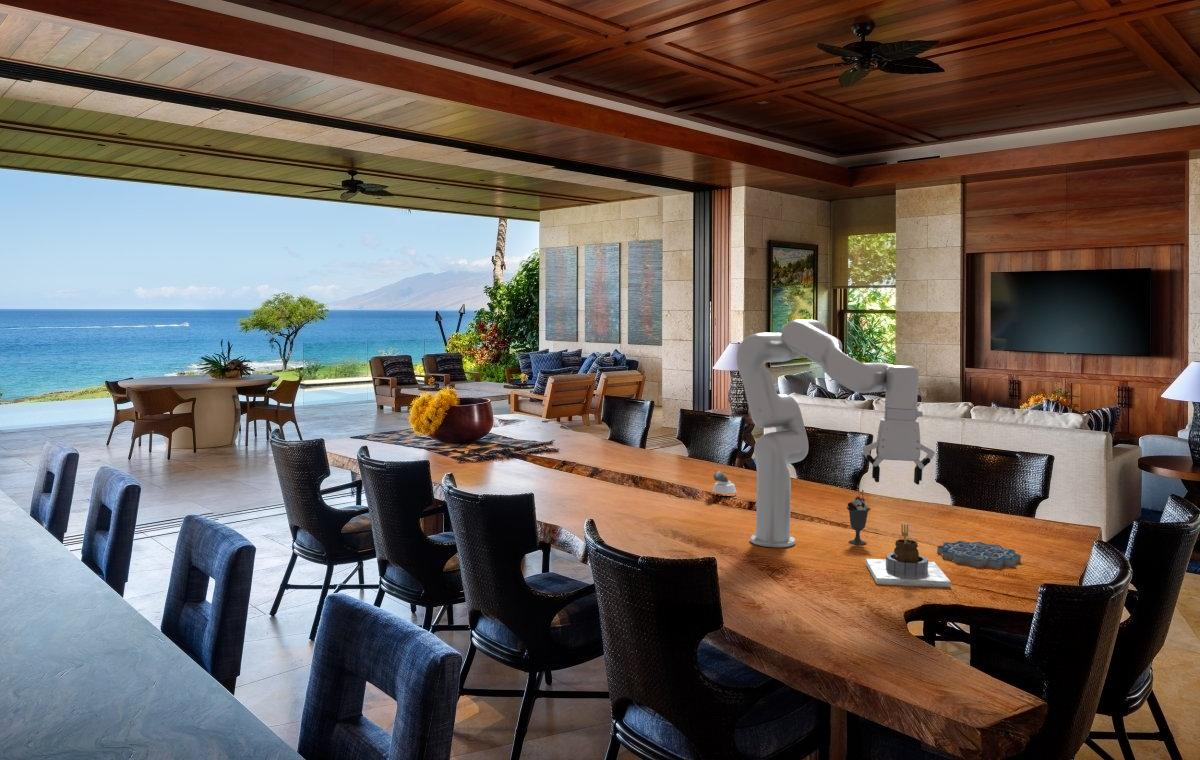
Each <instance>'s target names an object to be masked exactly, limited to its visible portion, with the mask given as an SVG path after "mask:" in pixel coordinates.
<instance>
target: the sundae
mask: <svg viewBox="0 0 1200 760" xmlns="http://www.w3.org/2000/svg"><path fill="white" fill-rule="evenodd" d="M861 495H862V497H860V496H861ZM865 501H866V499H865V497H864V490H861V493H860V494H858V495H857V496H856V497H855V498H853V499H852V500H851V502H848V503H847V506H846V509H847V510H848V514H849V521H850V522H849V524H850V527H851V528H852V530H854V531H855V537H854V539H851V540H848V543H849V544H850V545H855V546H865V545H867V542H866V541H863V540H862V539H861V531H863V530H864V529H865V527H866V525H867V524H866V523H867V520H868V513H869V512H870V511H871V508H870V507H868V506H869V505H868V504H867V502H865Z"/></svg>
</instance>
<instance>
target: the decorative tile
mask: <svg viewBox="0 0 1200 760" xmlns="http://www.w3.org/2000/svg"><path fill="white" fill-rule="evenodd" d="M936 549H937V551H936V553H937V554H938V553H939V554H938V555H941V554H943V555H941V556H942V559H943V558H946V559H945V560H948V559H951V560H950V561H952V560H953V562H954V563H955V564H956V563H960V564H959V565H966V564H968V566H971V567H973V568H991V569H998V570H1000V569H1001V568H1003V567H1006V568H1016V564H1021V563H1022V562H1021V561H1022V555H1021V554H1018V553H1016V550H1015V549H1011V548H1005V547H1002V546H1001V545H1000V544H990V543H989V544H988V543H984V542H982V541H975V542H973V541H972V542H971V541H970V542H969V541H963V540H958V541H956V542H947V541H946V542H943V545H937V548H936Z"/></svg>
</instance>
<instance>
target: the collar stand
mask: <svg viewBox="0 0 1200 760" xmlns="http://www.w3.org/2000/svg"><path fill="white" fill-rule="evenodd" d="M865 566H866V567H867V569H868V571H869V573H870V574H871V576H872V578H873V580H874V582H875V584H877V585H888V586H889V585H890V586H906V587H907V586H908V587H927V588H928V587H929V588H943V587H950V588H949V589H951V588H952V581H951V580H950V579H949V578H948V577H947V575H946V574H945V573H944V571H943V570H942V569H941V568H940V567H939V566H938V565H937V563H936V562H935V561H929V559H928V558H927V557H926V556H923V555H921V554H919V562H904V561H898V560H895V559H894V552H890V553H887V554H886V555H885V559H882V558H865Z"/></svg>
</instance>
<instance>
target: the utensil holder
mask: <svg viewBox="0 0 1200 760" xmlns="http://www.w3.org/2000/svg"><path fill="white" fill-rule="evenodd" d="M900 526H901V536H902V537H903V538H901V539H896V540H895V547H894V550H893V553H894V559H895V560H898V561H904V562H919V555H920V553H919V552H920V551H919V550H918V549H917V548H918V547H919V546H918V545H919V543H918V542H917V541H915V540H913V539H912V538H908V537H914V535H915V533H910V534H909V529H910V528H912V529H914V525H910V524H909V523H908V524H907V523H906V524H903V523H902V524H901V525H900Z"/></svg>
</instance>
